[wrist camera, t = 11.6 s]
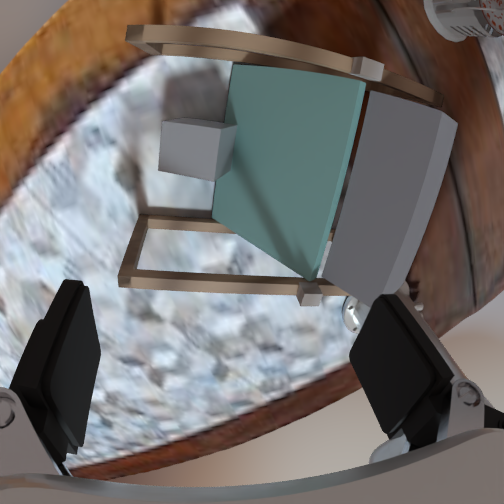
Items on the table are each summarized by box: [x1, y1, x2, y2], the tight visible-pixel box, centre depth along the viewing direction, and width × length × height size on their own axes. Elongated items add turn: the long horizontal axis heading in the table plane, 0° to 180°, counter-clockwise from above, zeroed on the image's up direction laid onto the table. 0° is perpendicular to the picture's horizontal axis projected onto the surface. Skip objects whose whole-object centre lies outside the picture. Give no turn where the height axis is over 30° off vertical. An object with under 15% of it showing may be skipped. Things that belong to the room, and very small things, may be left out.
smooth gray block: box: [158, 118, 237, 182], centre depth 30 cm, size 5×5×6 cm
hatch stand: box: [118, 25, 444, 306], centre depth 29 cm, size 26×21×14 cm
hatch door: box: [212, 65, 458, 308], centre depth 30 cm, size 22×18×8 cm
